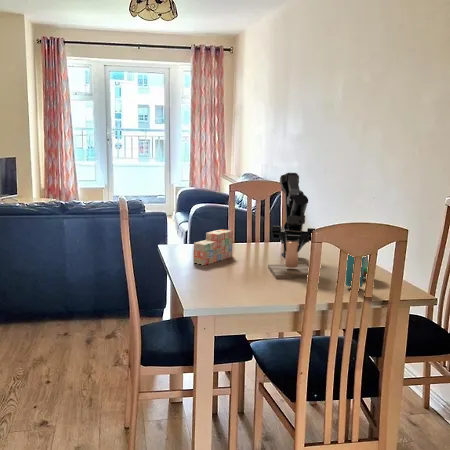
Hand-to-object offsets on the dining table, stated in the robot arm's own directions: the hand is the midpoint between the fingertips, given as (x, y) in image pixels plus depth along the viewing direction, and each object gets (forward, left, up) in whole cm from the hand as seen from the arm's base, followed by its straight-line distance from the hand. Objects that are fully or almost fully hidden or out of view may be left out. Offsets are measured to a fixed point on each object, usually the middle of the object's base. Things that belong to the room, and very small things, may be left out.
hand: (291, 250), depth 211 cm
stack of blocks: (-24, -29, -10) cm, 39 cm away
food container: (+8, +29, -10) cm, 31 cm away
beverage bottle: (+22, +19, -10) cm, 30 cm away
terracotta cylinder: (-1, +1, -7) cm, 7 cm away
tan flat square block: (-1, +1, -9) cm, 10 cm away
